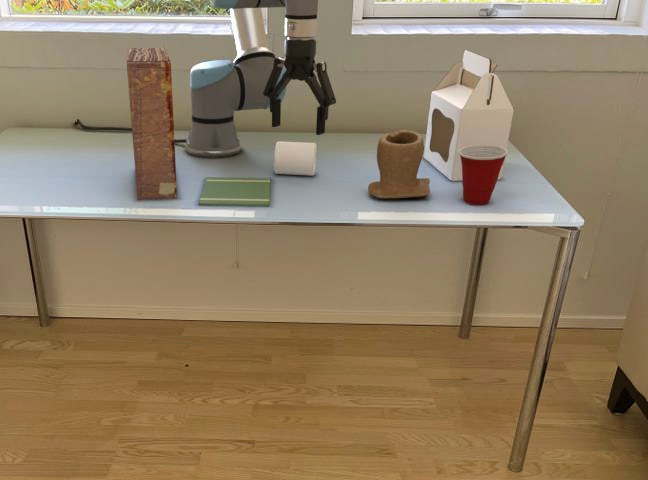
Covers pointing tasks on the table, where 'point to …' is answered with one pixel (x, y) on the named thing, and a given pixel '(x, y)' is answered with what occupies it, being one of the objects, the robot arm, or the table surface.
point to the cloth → (236, 191)
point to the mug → (295, 158)
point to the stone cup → (400, 166)
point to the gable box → (466, 114)
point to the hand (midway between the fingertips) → (297, 130)
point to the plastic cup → (480, 171)
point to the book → (152, 122)
